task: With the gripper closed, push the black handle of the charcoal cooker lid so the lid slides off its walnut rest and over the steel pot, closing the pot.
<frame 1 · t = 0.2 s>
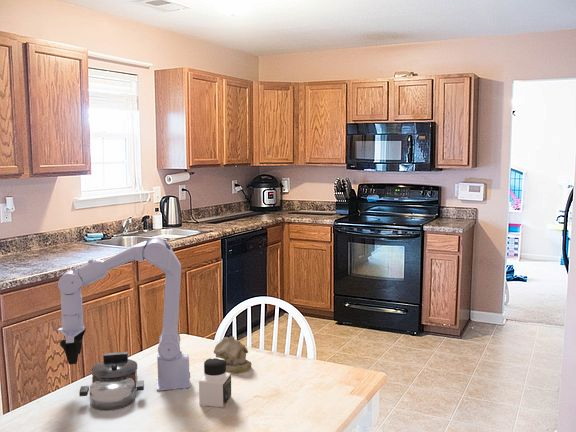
hand: (74, 358, 159), 10 cm above the table, tool pointing down, fingers open, 7 cm apart
lid: (114, 365, 164), point 6 cm above the table, slide at 10.0 cm
ceramic model: (232, 366, 180), on the table
cooker: (112, 400, 155), on the table
medicine bottle: (215, 401, 155), on the table
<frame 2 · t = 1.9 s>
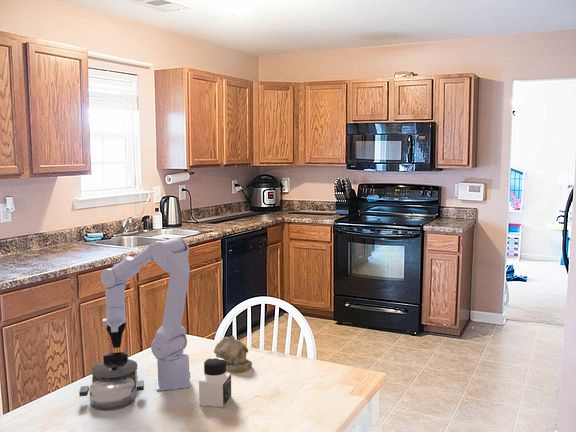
hand: (116, 346, 175), 8 cm above the table, tool pointing down, fingers closed
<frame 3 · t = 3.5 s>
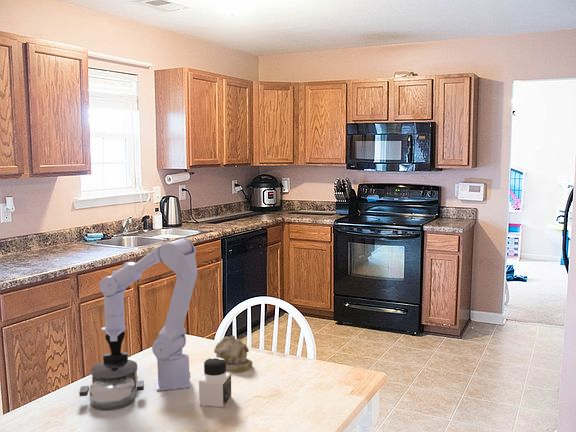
hand: (116, 356, 171), 6 cm above the table, tool pointing down, fingers closed
lid: (114, 365, 164), point 6 cm above the table, slide at 9.6 cm, touching gripper
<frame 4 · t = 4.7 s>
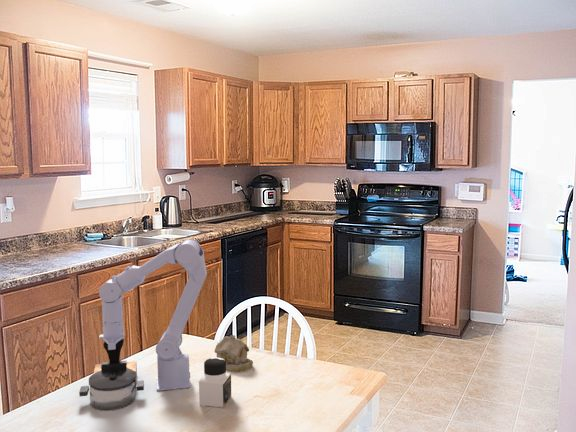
hand: (114, 364, 164), 6 cm above the table, tool pointing down, fingers closed
lid: (112, 375, 157), point 6 cm above the table, slide at 2.8 cm, touching gripper
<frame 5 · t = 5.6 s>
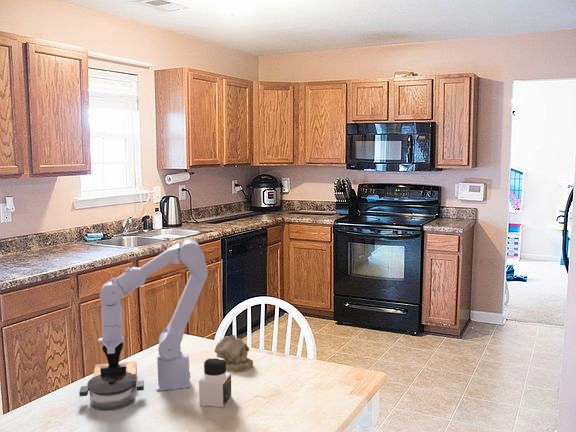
hand: (113, 368, 161), 6 cm above the table, tool pointing down, fingers closed
lid: (112, 379, 154), point 6 cm above the table, slide at -0.1 cm, touching gripper
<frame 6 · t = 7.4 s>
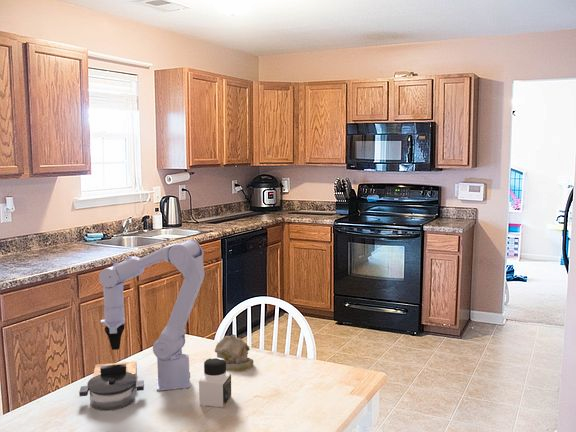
hand: (115, 348, 169), 9 cm above the table, tool pointing down, fingers closed
lid: (112, 379, 154), point 6 cm above the table, slide at 0.0 cm
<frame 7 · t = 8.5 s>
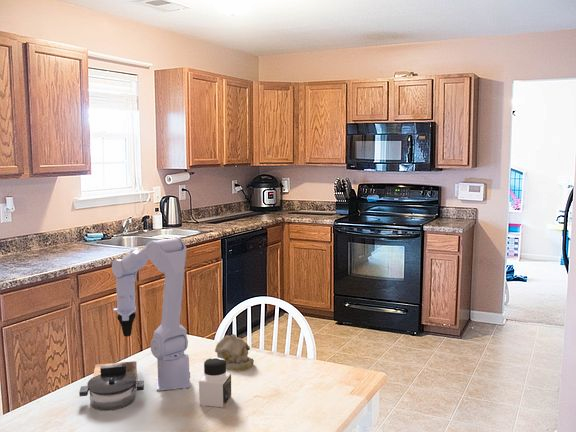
hand: (127, 335, 181), 9 cm above the table, tool pointing down, fingers closed
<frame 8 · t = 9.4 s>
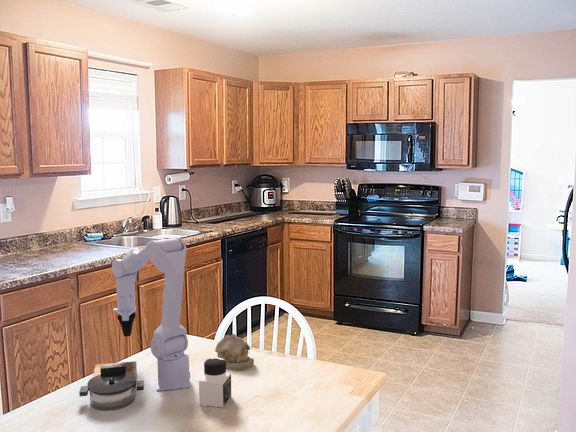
hand: (127, 335, 181), 9 cm above the table, tool pointing down, fingers closed
at the end: lid slide at 0.0 cm; medicine bottle moved 0.2 cm from its start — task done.
